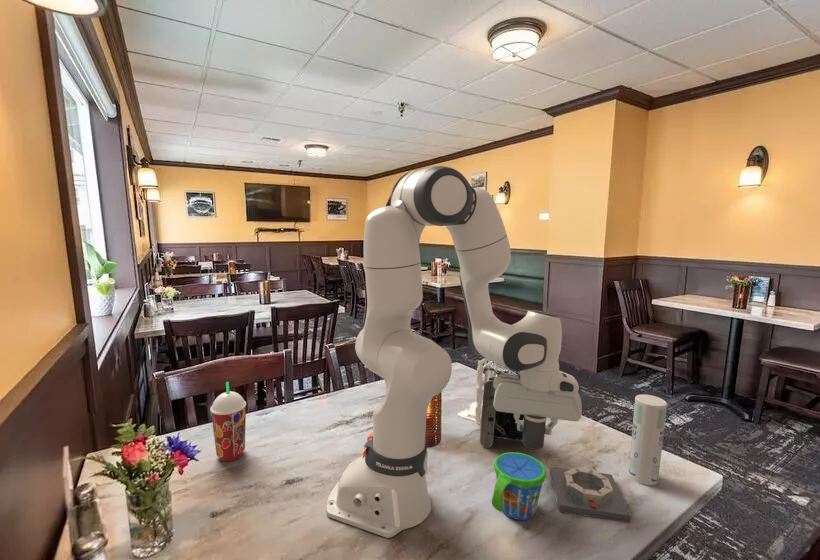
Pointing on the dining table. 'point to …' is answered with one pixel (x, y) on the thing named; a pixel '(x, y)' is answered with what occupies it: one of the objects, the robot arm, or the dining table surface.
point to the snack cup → (517, 484)
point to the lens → (534, 431)
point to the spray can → (647, 438)
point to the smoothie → (229, 424)
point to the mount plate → (588, 493)
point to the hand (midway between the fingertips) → (533, 431)
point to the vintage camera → (495, 416)
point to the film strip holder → (477, 394)
